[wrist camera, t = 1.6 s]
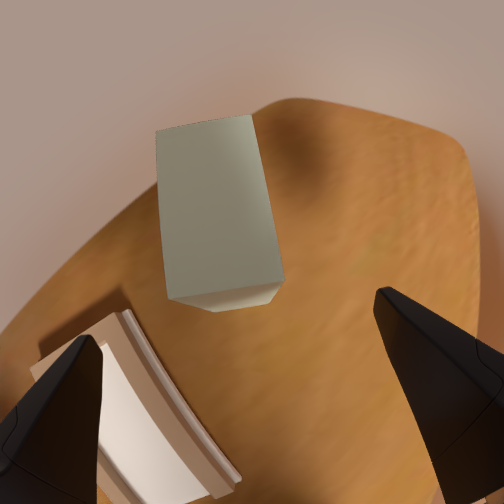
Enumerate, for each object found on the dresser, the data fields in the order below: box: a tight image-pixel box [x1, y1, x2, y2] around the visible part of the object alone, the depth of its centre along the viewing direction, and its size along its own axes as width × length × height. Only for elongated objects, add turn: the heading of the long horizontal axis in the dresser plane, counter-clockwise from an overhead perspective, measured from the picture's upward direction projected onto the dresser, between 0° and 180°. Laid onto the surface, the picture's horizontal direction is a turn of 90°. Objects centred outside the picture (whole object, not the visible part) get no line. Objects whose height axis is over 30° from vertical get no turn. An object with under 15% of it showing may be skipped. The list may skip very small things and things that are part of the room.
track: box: [30, 309, 242, 504], centre depth 17 cm, size 14×10×2 cm
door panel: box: [156, 114, 285, 312], centre depth 15 cm, size 6×4×11 cm, turn 10°
